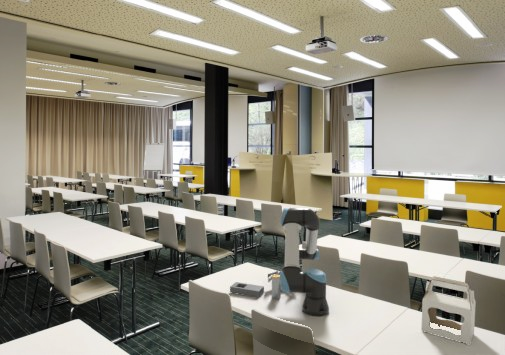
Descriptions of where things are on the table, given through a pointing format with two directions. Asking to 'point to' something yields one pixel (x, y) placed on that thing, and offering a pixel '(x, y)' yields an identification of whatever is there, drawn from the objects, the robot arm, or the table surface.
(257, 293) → the grey rectangular block
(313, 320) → the table surface
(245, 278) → the table surface
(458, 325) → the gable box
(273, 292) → the steel peg
